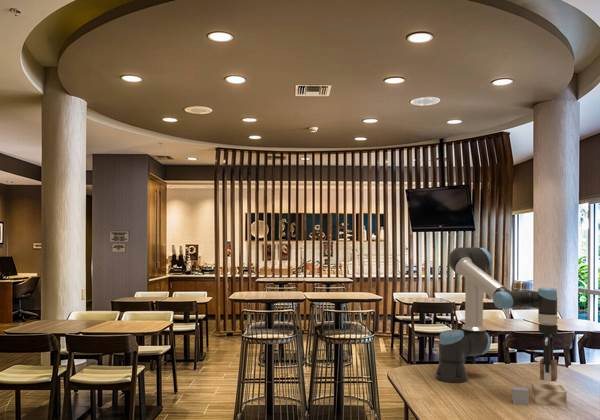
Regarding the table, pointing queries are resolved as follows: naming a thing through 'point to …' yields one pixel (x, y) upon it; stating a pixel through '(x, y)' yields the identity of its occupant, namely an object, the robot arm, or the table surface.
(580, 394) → the table surface
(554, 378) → the walnut block
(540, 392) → the birch block
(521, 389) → the slate cube
